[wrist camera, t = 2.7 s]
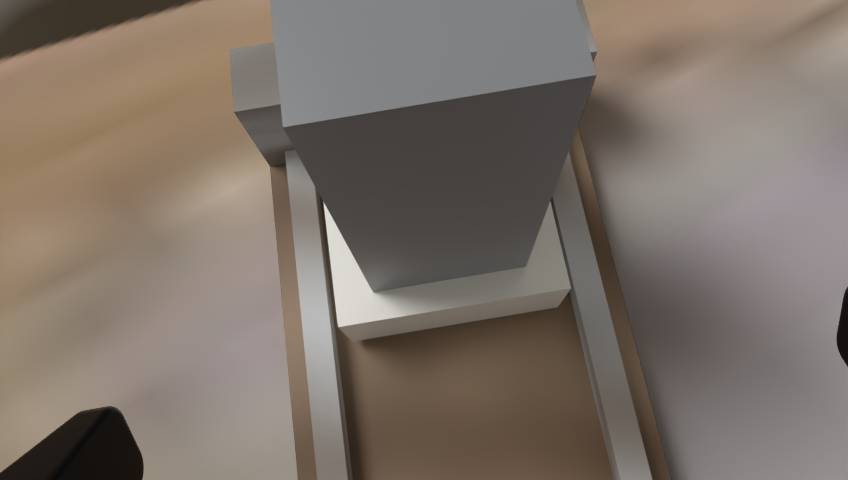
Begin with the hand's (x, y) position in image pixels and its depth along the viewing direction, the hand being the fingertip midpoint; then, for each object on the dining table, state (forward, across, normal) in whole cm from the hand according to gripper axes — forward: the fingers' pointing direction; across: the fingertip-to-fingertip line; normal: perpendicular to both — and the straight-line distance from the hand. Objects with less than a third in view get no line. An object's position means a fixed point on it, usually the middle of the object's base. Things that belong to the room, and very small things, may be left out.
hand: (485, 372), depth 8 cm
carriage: (+11, 0, +4) cm, 12 cm away
